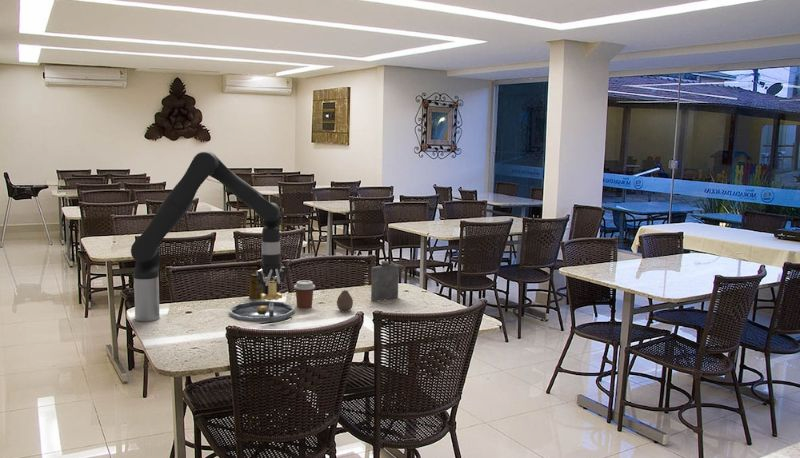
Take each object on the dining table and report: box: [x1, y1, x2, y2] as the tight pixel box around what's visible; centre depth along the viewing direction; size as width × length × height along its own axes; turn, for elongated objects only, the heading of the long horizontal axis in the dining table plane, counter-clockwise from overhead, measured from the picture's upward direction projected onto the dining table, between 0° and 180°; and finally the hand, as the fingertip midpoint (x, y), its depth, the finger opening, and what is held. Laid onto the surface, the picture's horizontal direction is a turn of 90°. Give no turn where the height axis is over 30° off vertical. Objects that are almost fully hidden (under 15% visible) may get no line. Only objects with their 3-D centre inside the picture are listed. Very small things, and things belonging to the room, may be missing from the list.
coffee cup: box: [293, 279, 316, 309], centre depth 284 cm, size 9×9×12 cm
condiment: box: [248, 273, 264, 300], centre depth 295 cm, size 7×8×12 cm
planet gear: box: [261, 280, 283, 301], centre depth 267 cm, size 8×8×6 cm
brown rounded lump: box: [336, 289, 354, 312], centre depth 283 cm, size 7×7×9 cm
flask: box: [370, 260, 400, 302], centre depth 304 cm, size 4×14×18 cm, turn 124°
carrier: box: [229, 300, 295, 325], centre depth 273 cm, size 26×26×7 cm
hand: (271, 293), depth 267 cm, fingers closed on planet gear, 4 cm apart
